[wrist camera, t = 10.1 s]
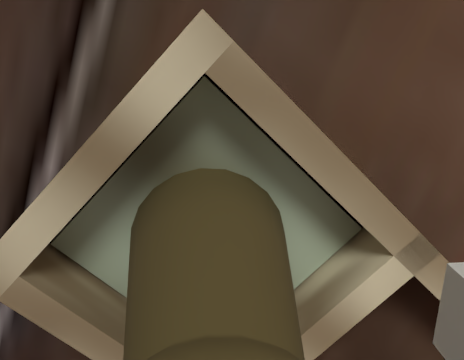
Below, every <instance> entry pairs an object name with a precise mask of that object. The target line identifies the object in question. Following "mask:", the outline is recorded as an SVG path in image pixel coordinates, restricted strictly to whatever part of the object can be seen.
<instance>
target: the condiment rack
mask: <svg viewBox="0 0 464 360" xmlns="http://www.w3.org/2000/svg"><path fill="white" fill-rule="evenodd" d="M204 73H206V74H207V75H208V76H209V77H210V78H211V79H212V80H213V81H214V82H215V83H216V84H217V85H218V86H219V87H220V88H221V89H222V90H223V91H224V92H225V93H226V94H227V95H228V96H229V97H230V98H231V99H232V100H234V101H235V102H236V103H237V104H238V105H239V106H240V107H241V108H242V109H243V110H244V111H245V112H246V113H247V114H248V115H249V116H250V117H251V118H252V119H253V120H254V121H255V122H256V123H257V124H258V125H259V126H260V127H261V128H262V129H263V130H264V131H265V132H266V133H268V134H269V135H270V136H271V137H272V138H273V139H274V140H275V141H276V142H277V143H278V144H279V145H280V146H281V147H282V148H283V149H284V150H285V151H286V152H287V153H288V154H289V155H290V156H291V157H292V158H293V159H294V160H295V161H296V162H297V163H298V164H299V165H300V166H302V167H303V168H304V169H305V170H306V171H307V172H308V173H309V174H310V175H311V176H312V177H313V178H314V179H315V180H316V181H317V182H318V183H319V184H320V185H321V186H322V187H323V188H324V189H325V190H326V191H327V192H328V193H329V194H330V195H331V196H332V197H333V198H334V199H336V200H337V201H338V202H339V203H340V204H341V205H342V206H343V207H344V208H345V209H346V210H347V211H348V212H349V213H350V214H351V215H352V216H353V217H354V218H355V219H356V220H357V221H358V222H359V223H360V224H361V225H362V226H363V228H361V227H360V226H359V225H358V224H357V223H356V222H355V221H354V220H353V219H352V218H351V217H350V216H349V215H348V214H347V213H346V212H345V211H344V210H343V209H342V208H341V207H340V206H339V205H338V204H336V203H335V202H334V201H333V200H332V199H331V198H330V197H329V196H328V195H327V194H326V193H325V192H324V191H323V190H322V189H321V188H320V187H319V186H318V185H317V184H316V183H315V182H314V181H313V180H312V179H311V178H310V177H309V176H308V175H307V174H305V173H304V172H303V171H302V170H301V169H300V168H299V167H298V166H297V165H296V164H295V163H294V162H293V161H292V160H291V159H290V158H289V157H288V156H287V155H286V154H285V153H284V152H283V151H282V150H281V149H280V148H279V147H278V146H277V145H276V144H274V143H273V142H272V141H271V140H270V139H269V138H268V137H267V136H266V135H265V134H264V133H263V132H262V131H261V130H260V129H259V128H258V127H257V126H256V125H255V124H254V123H253V122H252V121H251V120H250V119H249V118H248V117H247V116H246V115H245V114H243V113H242V112H241V111H240V110H239V109H238V108H237V107H236V106H235V105H234V104H233V103H232V102H231V101H230V100H229V99H228V98H227V97H226V96H225V95H224V94H223V93H222V92H221V91H220V90H219V89H218V88H217V87H216V86H215V85H214V84H212V83H211V82H210V81H209V80H208V79H207V78H206V77H205V76H203V77H202V79H201V80H200V81H199V82H198V83H197V84H196V85H195V86H194V87H193V88H192V90H191V91H190V92H189V93H188V94H187V95H186V96H185V97H184V98H183V99H182V100H181V102H180V103H179V104H178V105H177V106H176V107H175V108H174V109H173V110H172V111H171V112H170V114H169V115H168V116H167V117H166V118H165V119H164V120H163V121H162V122H161V123H160V124H159V126H158V127H157V128H156V129H155V130H154V131H153V132H152V133H151V134H150V135H149V136H148V138H147V139H146V140H145V141H144V142H143V143H142V144H141V145H140V146H139V147H138V149H137V150H136V151H135V152H134V153H133V154H132V155H131V156H130V157H129V158H128V159H127V161H126V162H125V163H124V164H123V165H122V166H121V167H120V168H119V169H118V170H117V171H116V173H115V174H114V175H113V176H112V177H111V178H110V179H109V180H108V181H107V182H106V183H105V181H106V180H107V179H108V178H109V177H110V176H111V175H112V174H113V173H114V172H115V170H116V169H117V168H118V167H119V166H120V165H121V164H122V163H123V162H124V161H125V160H126V158H127V157H128V156H129V155H130V154H131V153H132V152H133V151H134V150H135V149H136V147H137V146H138V145H139V144H140V143H141V142H142V141H143V140H144V139H145V138H146V137H147V135H148V134H149V133H150V132H151V131H152V130H153V129H154V128H155V127H156V126H157V125H158V123H159V122H160V121H161V120H162V119H163V118H164V117H165V116H166V115H167V114H168V112H169V111H170V110H171V109H172V108H173V107H174V106H175V105H176V104H177V103H178V102H179V100H180V99H181V98H182V97H183V96H184V95H185V94H186V93H187V92H188V91H189V90H190V88H191V87H192V86H193V85H194V84H195V83H196V82H197V81H198V80H199V79H200V77H201V76H202V75H203V74H204ZM199 168H208V169H226V170H229V171H232V172H234V173H237V174H240V175H243V176H246V177H248V178H250V179H251V180H252V181H254V182H255V183H256V184H258V185H259V186H260V187H261V188H263V189H264V190H265V191H267V192H268V194H269V195H270V197H271V198H272V200H273V201H274V203H275V205H276V206H277V208H278V209H279V211H280V214H281V218H282V223H283V227H284V232H285V238H286V244H287V250H288V257H289V263H290V269H291V275H292V282H293V288H294V294H295V301H296V307H297V313H298V320H299V326H300V332H301V339H302V345H303V351H304V358H305V360H314V359H315V358H317V357H318V356H319V355H320V354H321V353H322V352H324V351H325V350H326V349H327V348H328V347H330V346H331V345H332V344H333V343H334V342H336V341H337V340H338V339H339V338H340V337H342V336H343V335H344V334H345V333H346V332H348V331H349V330H350V329H351V328H352V327H353V326H355V325H356V324H357V323H358V322H359V321H361V320H362V319H363V318H364V317H365V316H367V315H368V314H369V313H370V312H371V311H373V310H374V309H375V308H376V307H377V306H379V305H380V304H381V303H382V302H383V301H384V300H386V299H387V298H388V297H389V296H390V295H392V294H393V293H394V292H395V291H396V290H398V289H399V288H400V287H401V286H402V285H404V284H405V283H406V282H407V281H408V280H410V279H411V278H412V277H413V276H415V277H416V278H417V279H418V280H419V281H420V282H421V283H422V284H423V285H424V286H425V287H426V288H427V289H428V290H429V291H430V292H431V293H432V294H433V295H434V296H435V297H436V298H437V299H439V300H440V299H441V294H442V288H443V283H444V277H445V272H446V266H447V263H449V262H448V261H447V260H446V259H445V258H444V257H443V256H442V255H441V254H440V253H439V252H438V251H437V250H436V248H435V247H434V246H433V245H432V244H431V243H430V242H429V241H428V240H427V239H426V238H425V237H424V236H423V235H422V234H421V233H420V232H419V231H418V230H417V229H416V228H415V227H414V226H413V225H412V224H411V223H410V222H409V221H408V220H407V219H406V218H405V217H404V216H403V215H402V213H401V212H400V211H399V210H398V209H397V208H396V207H395V206H394V205H393V204H392V203H391V202H390V201H389V200H388V199H387V198H386V197H385V196H384V195H383V194H382V193H381V192H380V191H379V190H378V189H377V188H376V187H375V186H374V185H373V184H372V183H371V182H370V181H369V180H368V179H367V177H366V176H365V175H364V174H363V173H362V172H361V171H360V170H359V169H358V168H357V167H356V166H355V165H354V164H353V163H352V162H351V161H350V160H349V159H348V158H347V157H346V156H345V155H344V154H343V153H342V152H341V151H340V150H339V149H338V148H337V147H336V146H335V145H334V144H333V143H332V141H331V140H330V139H329V138H328V137H327V136H326V135H325V134H324V133H323V132H322V131H321V130H320V129H319V128H318V127H317V126H316V125H315V124H314V123H313V122H312V121H311V120H310V119H309V118H308V117H307V116H306V115H305V114H304V113H303V112H302V111H301V110H300V109H299V108H298V107H297V105H296V104H295V103H294V102H293V101H292V100H291V99H290V98H289V97H288V96H287V95H286V94H285V93H284V92H283V91H282V90H281V89H280V88H279V87H278V86H277V85H276V84H275V83H274V82H273V81H272V80H271V79H270V78H269V77H268V76H267V75H266V74H265V73H264V72H263V70H262V69H261V68H260V67H259V66H258V65H257V64H256V63H255V62H254V61H253V60H252V59H251V58H250V57H249V56H248V55H247V54H246V53H245V52H244V51H243V50H242V49H241V48H240V47H239V46H238V45H237V44H236V43H235V42H234V41H233V40H232V39H231V38H230V37H229V36H228V34H227V33H226V32H225V31H224V30H223V29H222V28H221V27H220V26H219V25H218V24H217V23H216V22H215V21H214V20H213V19H212V18H211V17H210V16H209V15H208V14H207V13H206V12H205V11H204V10H203V9H202V10H201V11H200V12H199V13H198V14H197V16H196V17H195V18H194V19H193V20H192V21H191V22H190V24H189V25H188V26H187V27H186V28H185V29H184V30H183V32H182V33H181V34H180V35H179V36H178V37H177V38H176V40H175V41H174V42H173V43H172V44H171V45H170V46H169V48H168V49H167V50H166V51H165V52H164V53H163V54H162V56H161V57H160V58H159V59H158V60H157V61H156V62H155V63H154V65H153V66H152V67H151V68H150V69H149V70H148V71H147V73H146V74H145V75H144V76H143V77H142V78H141V79H140V81H139V82H138V83H137V84H136V85H135V86H134V87H133V89H132V90H131V91H130V92H129V93H128V94H127V95H126V97H125V98H124V99H123V100H122V101H121V102H120V103H119V104H118V106H117V107H116V108H115V109H114V110H113V111H112V112H111V114H110V115H109V116H108V117H107V118H106V119H105V120H104V122H103V123H102V124H101V125H100V126H99V127H98V128H97V130H96V131H95V132H94V133H93V134H92V135H91V136H90V138H89V139H88V140H87V141H86V142H85V143H84V144H83V145H82V147H81V148H80V149H79V150H78V151H77V152H76V153H75V155H74V156H73V157H72V158H71V159H70V160H69V161H68V163H67V164H66V165H65V166H64V167H63V168H62V169H61V171H60V172H59V173H58V174H57V175H56V176H55V177H54V179H53V180H52V181H51V182H50V183H49V184H48V185H47V186H46V188H45V189H44V190H43V191H42V192H41V193H40V194H39V196H38V197H37V198H36V199H35V200H34V201H33V202H32V204H31V205H30V206H29V207H28V208H27V209H26V210H25V212H24V213H23V214H22V215H21V216H20V217H19V218H18V220H17V221H16V222H15V223H14V224H13V225H12V226H11V227H10V229H9V230H8V231H7V232H6V233H5V234H4V235H3V237H2V238H1V239H0V302H2V303H3V304H5V305H6V306H8V307H9V308H11V309H13V310H14V311H16V312H17V313H19V314H20V315H22V316H24V317H25V318H27V319H28V320H30V321H32V322H33V323H35V324H36V325H38V326H39V327H41V328H43V329H44V330H46V331H47V332H49V333H50V334H52V335H54V336H55V337H57V338H58V339H60V340H62V341H63V342H65V343H66V344H68V345H69V346H71V347H73V348H74V349H76V350H77V351H79V352H81V353H82V354H84V355H85V356H87V357H88V358H90V359H92V360H123V354H124V337H125V320H126V304H127V287H128V270H129V253H130V237H131V227H132V224H133V221H134V218H135V216H136V213H137V210H138V207H139V206H140V204H141V203H142V202H143V201H144V200H145V198H146V197H147V196H148V195H149V193H150V192H151V191H152V190H153V188H155V187H156V186H158V185H160V184H161V183H163V182H164V181H166V180H167V179H169V178H171V177H172V176H174V175H176V174H180V173H183V172H187V171H191V170H195V169H199ZM104 183H105V185H104V186H103V187H102V188H101V189H100V190H99V191H98V192H97V193H96V194H95V195H94V193H95V192H96V191H97V190H98V189H99V188H100V187H101V186H102V185H103V184H104ZM93 195H94V197H93V198H92V199H91V200H90V201H89V202H88V203H87V204H86V205H85V206H84V208H83V209H82V210H81V211H80V212H79V213H78V214H77V215H76V216H75V217H74V218H73V216H74V215H75V214H76V213H77V212H78V211H79V210H80V209H81V208H82V207H83V205H84V204H85V203H86V202H87V201H88V200H89V199H90V198H91V197H92V196H93ZM72 218H73V220H72V221H71V222H70V223H69V224H68V225H67V226H66V227H65V228H64V229H63V230H62V228H63V227H64V226H65V225H66V224H67V223H68V222H69V221H70V220H71V219H72ZM61 230H62V232H61V233H60V234H59V235H58V236H57V237H56V238H55V239H54V240H53V242H52V243H51V244H50V242H51V240H52V239H53V238H54V237H55V236H56V235H57V234H58V233H59V232H60V231H61ZM52 245H53V246H52ZM69 257H70V258H69ZM76 262H77V263H76ZM86 269H87V270H86ZM93 274H94V275H93ZM110 286H111V287H110Z"/></svg>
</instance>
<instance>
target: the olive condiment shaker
mask: <svg viewBox="0 0 464 360" xmlns="http://www.w3.org/2000/svg"><path fill="white" fill-rule="evenodd" d="M123 360H305V358H304V351H303V345H302V339H301V332H300V326H299V320H298V313H297V307H296V301H295V294H294V288H293V282H292V275H291V269H290V263H289V257H288V250H287V244H286V238H285V232H284V227H283V223H282V218H281V214H280V211H279V209H278V208H277V206H276V205H275V203H274V201H273V200H272V198H271V197H270V195H269V194H268V192H267V191H265V190H264V189H263V188H261V187H260V186H259V185H258V184H256V183H255V182H254V181H252V180H251V179H250V178H248V177H246V176H243V175H240V174H237V173H234V172H232V171H229V170H226V169H208V168H199V169H195V170H191V171H187V172H183V173H180V174H176V175H174V176H172V177H171V178H169V179H167V180H166V181H164V182H163V183H161V184H160V185H158V186H156V187H155V188H153V190H152V191H151V192H150V193H149V195H148V196H147V197H146V198H145V200H144V201H143V202H142V203H141V204H140V206H139V207H138V210H137V213H136V216H135V218H134V221H133V224H132V227H131V237H130V253H129V270H128V287H127V304H126V320H125V337H124V354H123Z"/></svg>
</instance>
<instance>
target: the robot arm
mask: <svg viewBox="0 0 464 360" xmlns="http://www.w3.org/2000/svg"><path fill="white" fill-rule="evenodd" d="M433 344H434V345H435V347H436V348H437V349H438V351H439V352H440V353H441V355H442V356H443V357H444V358H445V360H464V262H461V263H447V266H446V272H445V277H444V283H443V288H442V294H441V299H440V305H439V310H438V316H437V321H436V327H435V332H434V338H433Z"/></svg>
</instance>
